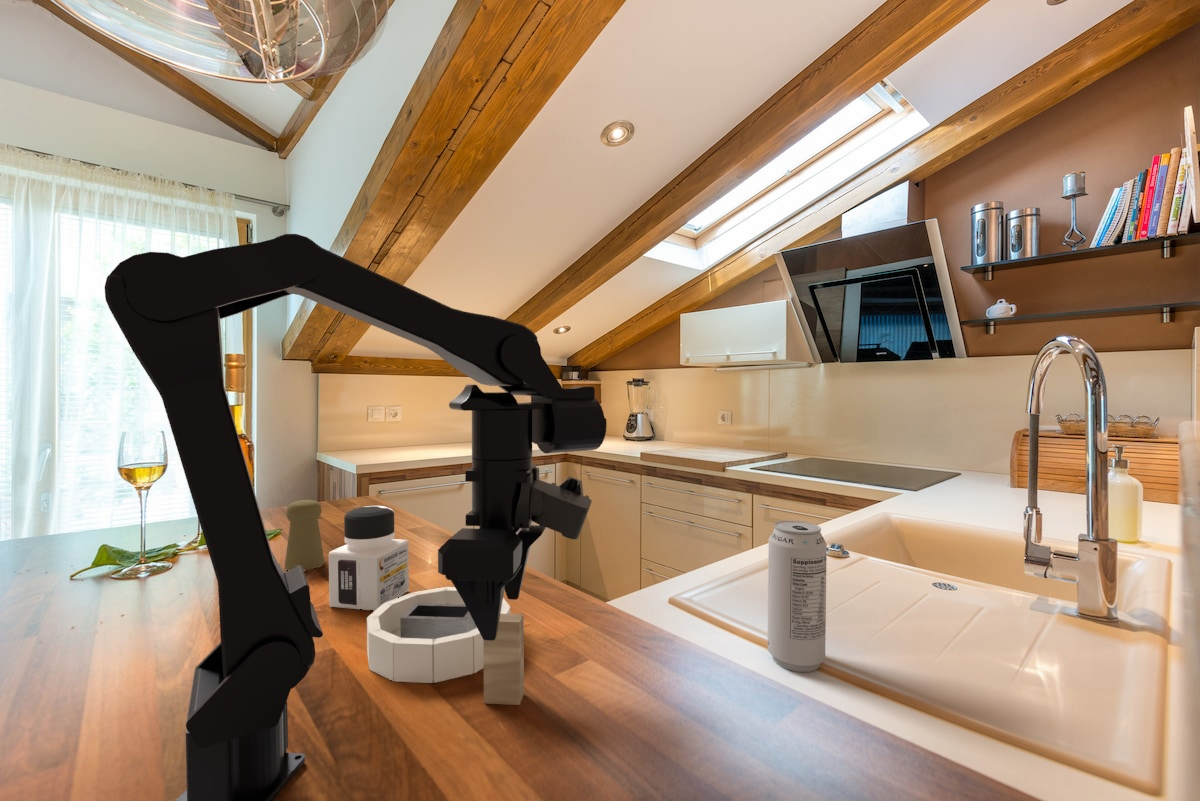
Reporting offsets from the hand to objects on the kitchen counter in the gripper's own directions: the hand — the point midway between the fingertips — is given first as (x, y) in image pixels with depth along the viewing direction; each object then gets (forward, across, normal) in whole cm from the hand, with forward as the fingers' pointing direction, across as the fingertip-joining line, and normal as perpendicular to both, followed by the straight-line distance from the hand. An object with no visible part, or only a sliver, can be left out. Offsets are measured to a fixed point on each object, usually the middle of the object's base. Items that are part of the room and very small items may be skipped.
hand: (502, 617), depth 53 cm
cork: (+8, +36, +43) cm, 57 cm away
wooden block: (+8, 0, 0) cm, 8 cm away
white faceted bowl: (+8, +10, +10) cm, 16 cm away
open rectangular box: (+8, +10, +10) cm, 16 cm away
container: (+8, +23, +25) cm, 35 cm away
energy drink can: (+8, +10, -31) cm, 33 cm away
